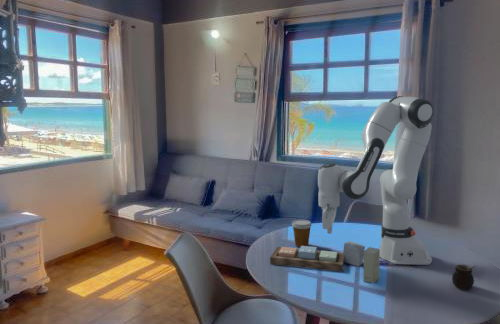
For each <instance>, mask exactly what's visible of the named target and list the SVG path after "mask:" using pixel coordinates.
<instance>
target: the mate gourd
mask: <svg viewBox="0 0 500 324" xmlns="http://www.w3.org/2000/svg"><path fill="white" fill-rule="evenodd" d="M476 266H477V265H474V266H472V267H471V266H470V265H466V264H456V265H455V268H454V269H455V270H454V272H453V274H452V277H451V278H452V279H451V280H452V284H453V285H454V287H455V288H457V289H459V290H463V291H468V290H470V289H472V288H473V286H474V283H475V278H474V276H473V269H474V268H475V267H476Z"/></svg>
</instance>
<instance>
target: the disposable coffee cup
mask: <svg viewBox="0 0 500 324" xmlns="http://www.w3.org/2000/svg"><path fill="white" fill-rule="evenodd" d="M291 226H292V229H293V236H294V237H293V238H294V244H295V245H294V246H295V247H296V248H300V247H301V246H309V241H310V233H311V227H312V223H311V221H310V220H307V219H295V220H293V221H292V223H291Z"/></svg>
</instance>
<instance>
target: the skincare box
mask: <svg viewBox="0 0 500 324" xmlns="http://www.w3.org/2000/svg"><path fill="white" fill-rule="evenodd" d="M379 253H380V248H375V247H371V246H369V247H367V248H365V250H364V258H363V279H362V281H364V282H366V283H367V282H368V283H372V284H374V283H376V282H377V281H378V280H379V279H380V257H379Z"/></svg>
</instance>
